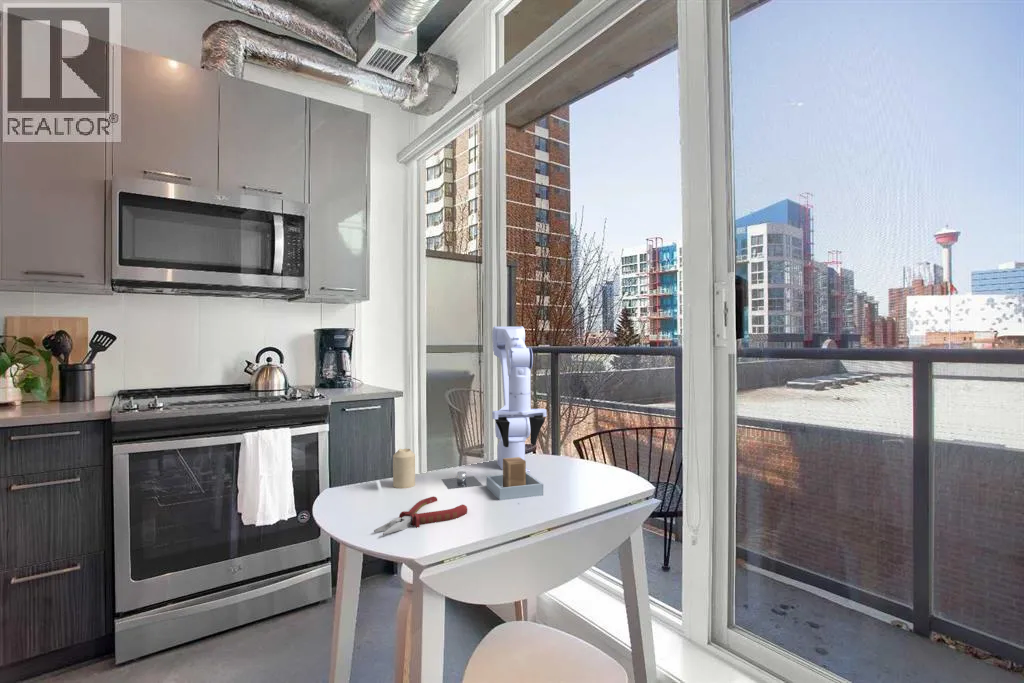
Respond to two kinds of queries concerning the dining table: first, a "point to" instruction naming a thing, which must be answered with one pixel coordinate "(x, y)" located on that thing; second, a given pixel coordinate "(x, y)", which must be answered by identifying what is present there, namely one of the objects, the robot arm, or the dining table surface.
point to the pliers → (422, 517)
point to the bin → (514, 488)
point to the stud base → (455, 485)
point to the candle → (404, 469)
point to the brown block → (514, 472)
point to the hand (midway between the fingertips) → (519, 445)
